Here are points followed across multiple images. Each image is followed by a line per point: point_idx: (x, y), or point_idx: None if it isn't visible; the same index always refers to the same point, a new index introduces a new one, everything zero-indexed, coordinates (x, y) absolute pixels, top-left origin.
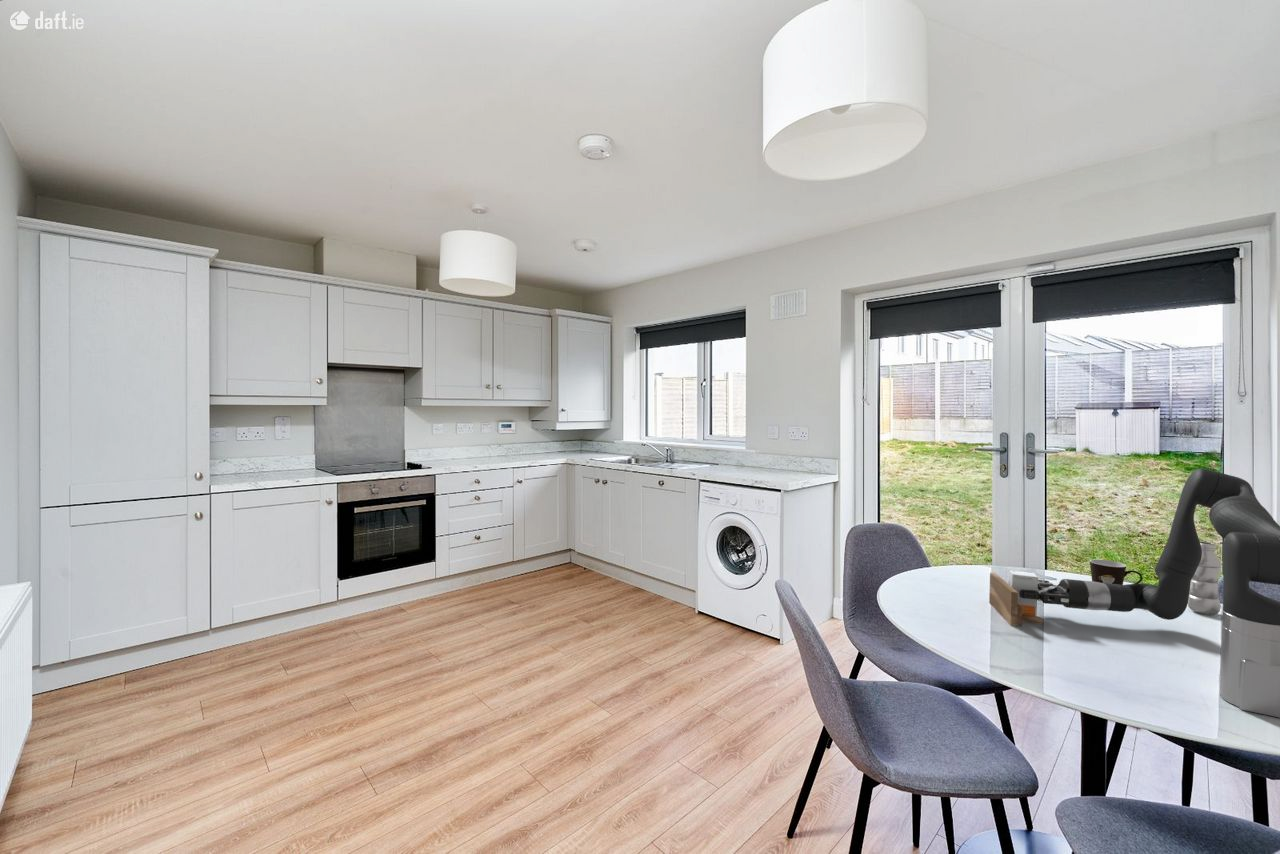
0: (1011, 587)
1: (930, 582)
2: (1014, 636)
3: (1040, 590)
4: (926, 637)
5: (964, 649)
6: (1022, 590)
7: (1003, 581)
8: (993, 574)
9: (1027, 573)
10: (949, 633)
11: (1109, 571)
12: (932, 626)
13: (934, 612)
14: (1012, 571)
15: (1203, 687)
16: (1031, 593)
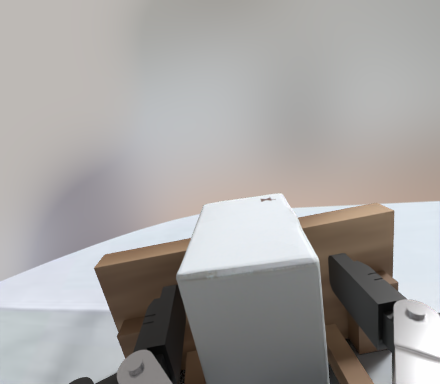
0: (165, 252)
1: (429, 214)
2: (53, 359)
3: (159, 374)
4: (88, 247)
5: (28, 279)
6: (162, 290)
7: None
8: (355, 210)
9: (257, 230)
10: None
11: None
12: (131, 246)
13: None
14: (262, 198)
15: None
16: (141, 330)
